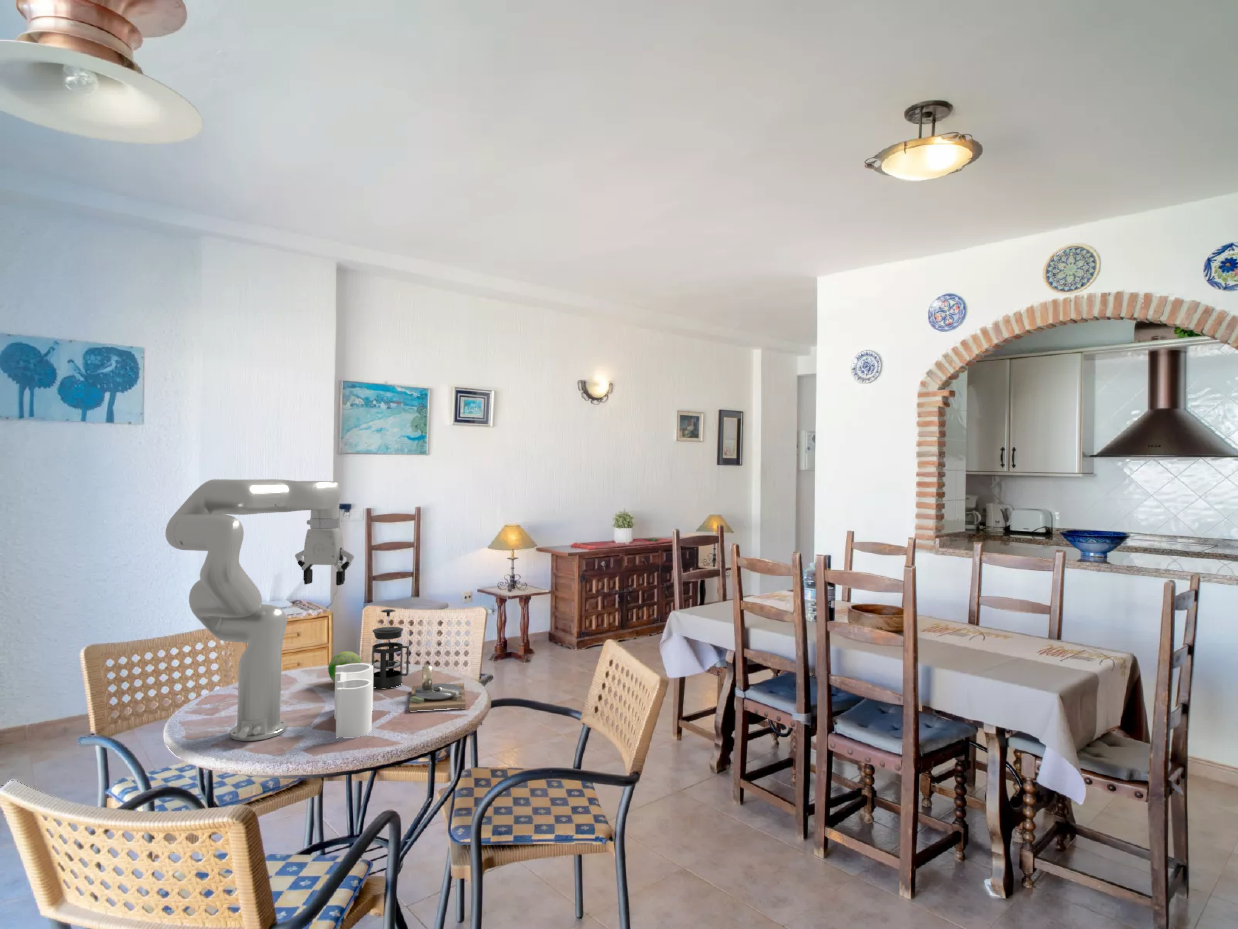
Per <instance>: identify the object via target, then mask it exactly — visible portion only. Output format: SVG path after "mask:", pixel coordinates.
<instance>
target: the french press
mask: <svg viewBox="0 0 1238 929" xmlns="http://www.w3.org/2000/svg"><path fill="white" fill-rule="evenodd" d="M380 612H381V613H386V617H387V626H384V627H383V626H382V627H377V628H374V629H372V633H373V634H374V638H375V639H376V640H383V641H384V640H385V641H386V642H380V643H376V644H373V645H372V647H371V665H373V687H376V688H391V687H396V686H399V685H401V683H403V682H404V681H403V677H406V676H408V675H409V672H410V671H409V670H410V669H409V666H410V664H409V663H410V645H403V644H402V643H401V642H394V641H393V642H392V641H391V642H390V641H389V640H396V639H400V638H401V637H402V632H403V631H404V629H403V627H400V626H389V624H390V622H389V620H390V616H391V613H394V612H396V610H395V609H392V608H387V609H382V610H381V611H380ZM404 649H406V668H405V670H406V671H405V672H406V673H403V657H404V656H403V651H404ZM398 652H400V657H399V658H400V661H399V660H395V653H398ZM375 654H380V659H379V660H380V661H377V662H375ZM399 667H400V668H399ZM397 668H399V670H395V669H397ZM375 669H377V670H378V671H375ZM402 681H403V682H402ZM403 684H404V683H403ZM401 686H402V685H401ZM399 687H400V686H399ZM396 688H397V687H396ZM391 689H392V688H391Z"/></svg>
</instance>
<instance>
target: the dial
mask: <svg viewBox="0 0 1238 929" xmlns="http://www.w3.org/2000/svg"><path fill="white" fill-rule="evenodd" d="M421 674H422V675H421V676H422V677H421V678H422V680H421V685H422V686H421V687H419V688H417V689H416V690H415V697H420V698H424V700H431V701H435V700H446V699H451V698H454V696H456V695H460V694H461V687H460V686H458V685H454V684H455V683H445V682H442V683H441V682H440V683H433V665H431V664H429V665H422V673H421Z"/></svg>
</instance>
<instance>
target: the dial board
mask: <svg viewBox="0 0 1238 929" xmlns="http://www.w3.org/2000/svg"><path fill="white" fill-rule="evenodd" d="M453 684H454V685H458V686H460V687H461V694H460V695H456V696H454V698H451V699H446V700H435V701H431V700H424V698H420V697H415V690H416V689H417V688H419V687H421V686H422V684H421V685H412V688H411V694H410V700H409V707H408V712H409V711H417V710H434V709H447V708H466V705H467V702H466V693H465V683H464V682H462V683H460V682H459V683H453Z"/></svg>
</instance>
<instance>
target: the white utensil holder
mask: <svg viewBox="0 0 1238 929" xmlns="http://www.w3.org/2000/svg"><path fill="white" fill-rule="evenodd" d="M373 702H374V688H373V665H372V663H371V664H370V663H364V662H362V663H354V664H346V665H338V666H336V673H335V682H334V715H333V716H334V720H335V738H336V737H338V738H339V737H357V738H359V737H358V736H361V735H364V734H367V735H368V733H369V732H370V731H371V730H372V729H373V728H372V727H373V720H372V719H373V712H374V711H373V710H374V703H373ZM372 711H373V712H372ZM372 731H373V730H372ZM372 731H371V732H372ZM371 732H370V733H371ZM370 733H369V734H370ZM364 736H365V735H364ZM361 737H362V736H361ZM339 739H340V738H339Z"/></svg>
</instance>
